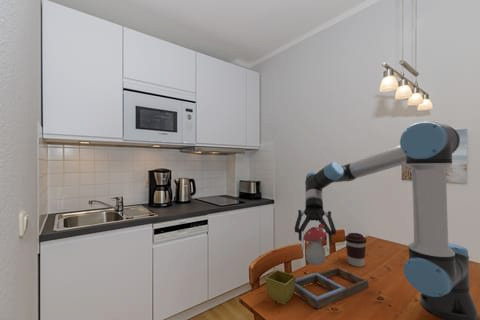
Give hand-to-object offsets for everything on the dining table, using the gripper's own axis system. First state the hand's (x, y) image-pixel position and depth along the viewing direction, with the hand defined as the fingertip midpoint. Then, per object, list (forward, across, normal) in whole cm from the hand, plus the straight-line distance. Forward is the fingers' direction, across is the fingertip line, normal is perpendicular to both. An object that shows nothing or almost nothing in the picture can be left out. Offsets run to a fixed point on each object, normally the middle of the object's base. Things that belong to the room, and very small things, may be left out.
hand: (315, 249), depth 92 cm
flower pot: (+17, +13, -10) cm, 23 cm away
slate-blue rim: (+9, 0, -13) cm, 16 cm away
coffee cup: (-13, -20, -40) cm, 46 cm away
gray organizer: (+8, -5, -19) cm, 21 cm away
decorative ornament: (+2, 0, -7) cm, 7 cm away
